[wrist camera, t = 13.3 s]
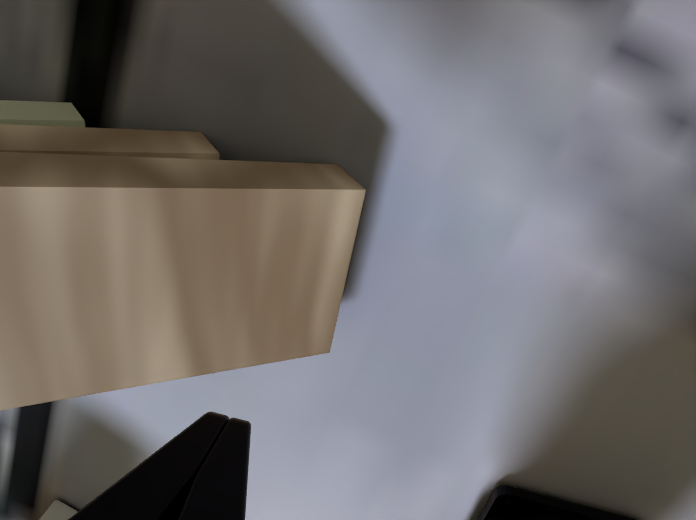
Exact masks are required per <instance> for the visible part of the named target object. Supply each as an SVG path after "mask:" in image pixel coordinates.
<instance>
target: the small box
mask: <svg viewBox="0 0 696 520" xmlns="http://www.w3.org/2000/svg"><path fill="white" fill-rule="evenodd" d="M77 512H78V511H76V510H75V509H73V508H71V507H69V506H68V505H66V504H64V503H62V502H60V501H59V500H54V501H53V502H52V504H51V505H50V506H49V508H48V509H47V510H46V511H45V513H44V514H43V515H42V516H41V518H40V519H39V520H68V519H69V518H70V517H72V516H73V515H74V514H76V513H77Z"/></svg>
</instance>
